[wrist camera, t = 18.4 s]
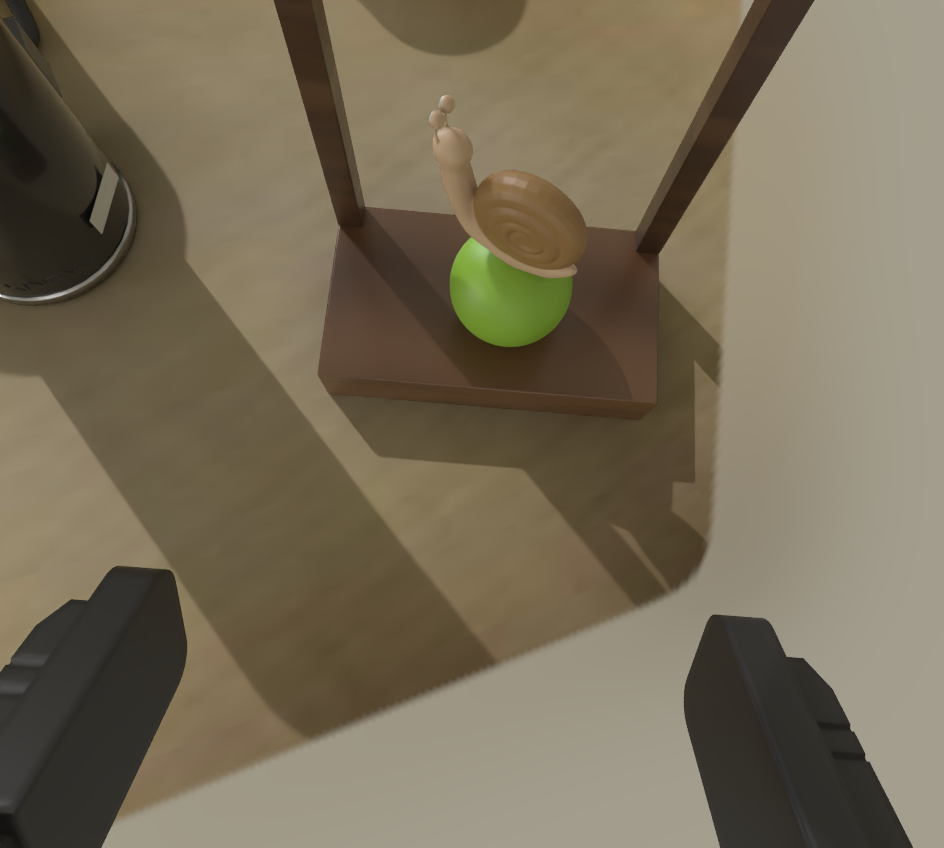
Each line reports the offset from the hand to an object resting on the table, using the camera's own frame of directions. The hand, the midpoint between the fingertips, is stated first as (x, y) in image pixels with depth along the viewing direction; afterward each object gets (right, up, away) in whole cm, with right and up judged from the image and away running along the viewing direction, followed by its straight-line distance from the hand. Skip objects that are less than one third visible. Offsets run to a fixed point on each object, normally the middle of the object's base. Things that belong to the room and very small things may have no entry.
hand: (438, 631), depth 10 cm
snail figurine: (+2, +9, +23) cm, 24 cm away
